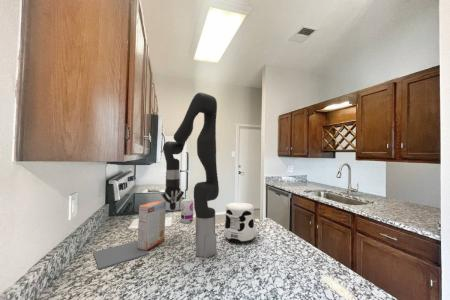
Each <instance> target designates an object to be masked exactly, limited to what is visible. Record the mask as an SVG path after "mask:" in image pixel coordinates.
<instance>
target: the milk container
mask: <svg viewBox="0 0 450 300" xmlns="http://www.w3.org/2000/svg"><path fill="white" fill-rule="evenodd" d="M254 209H255V208H254V204H252V203H249V202H241V201H240V202H239V201H238V202H235V201H234V202H230V203H227V204H226V205H225V221H224V222H225V223H224V227H223V232H224V233H223V234H224V236H225V238H226V239H227V240H229V241H232V242H234V243H235V242H236V243H247V242H250V241H252V240H253V239H255V236H256V231H257V229H256V225H255V212H254V211H255V210H254Z"/></svg>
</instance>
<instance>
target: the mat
mask: <svg viewBox="0 0 450 300" xmlns="http://www.w3.org/2000/svg"><path fill="white" fill-rule="evenodd" d="M137 246H138V240H135V241H130V242H127V243H123V244H118V245H115V246H112V247H108V248H107V247H106V248H103V249H100V250H95V251H93V252H92V253H93V257H94V260H95V263H96V266H97V268H98V270H99V271H100V270H103V269H107V268H110V267H113V266H116V265H120V264H123V263H125V262H126V263H127V262H129V261H134V260H136V259H139V258H143V257H146V256H149V255H150V252H149V251H148V250H142V249H137Z"/></svg>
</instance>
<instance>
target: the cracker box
mask: <svg viewBox="0 0 450 300" xmlns="http://www.w3.org/2000/svg"><path fill="white" fill-rule="evenodd" d="M166 207H167V202H166V200H156V201H152V202H147V203H145V204H140V205H139V207H138V209H139V210H138V224H137V225H138V228H137V230H138V231H137V241H138V246H137V249H142V250H147V251H148V250H150V249H152V248H153V247H155V246H157V245H159V244H160V243H162V242H164V241H165V233H166V210H167V209H166Z"/></svg>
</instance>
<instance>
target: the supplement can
mask: <svg viewBox="0 0 450 300" xmlns="http://www.w3.org/2000/svg"><path fill="white" fill-rule="evenodd" d="M193 221H194V199H193V198H184V199H182V200H181V202H180V222H181V223H182V224H191V223H193Z"/></svg>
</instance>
